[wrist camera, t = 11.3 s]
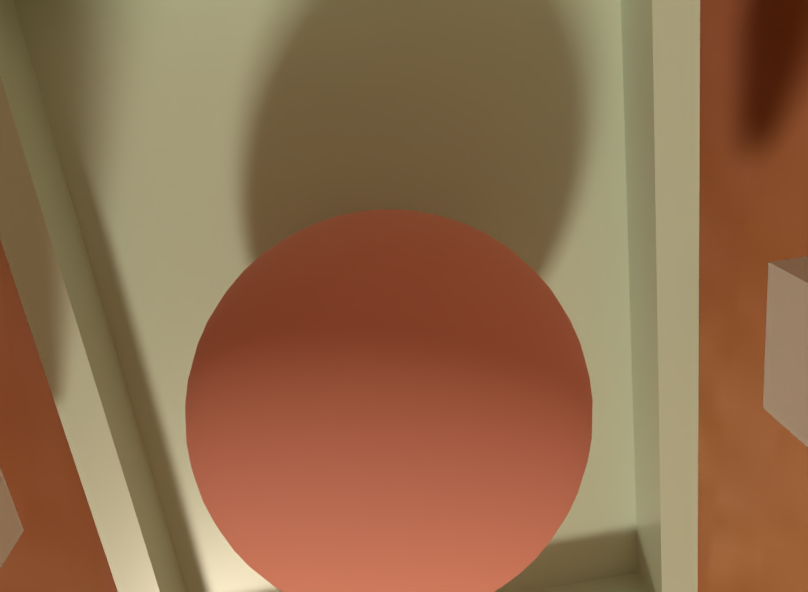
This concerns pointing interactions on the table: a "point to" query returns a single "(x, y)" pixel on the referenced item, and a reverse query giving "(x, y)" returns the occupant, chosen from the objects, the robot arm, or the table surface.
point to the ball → (388, 409)
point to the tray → (347, 193)
